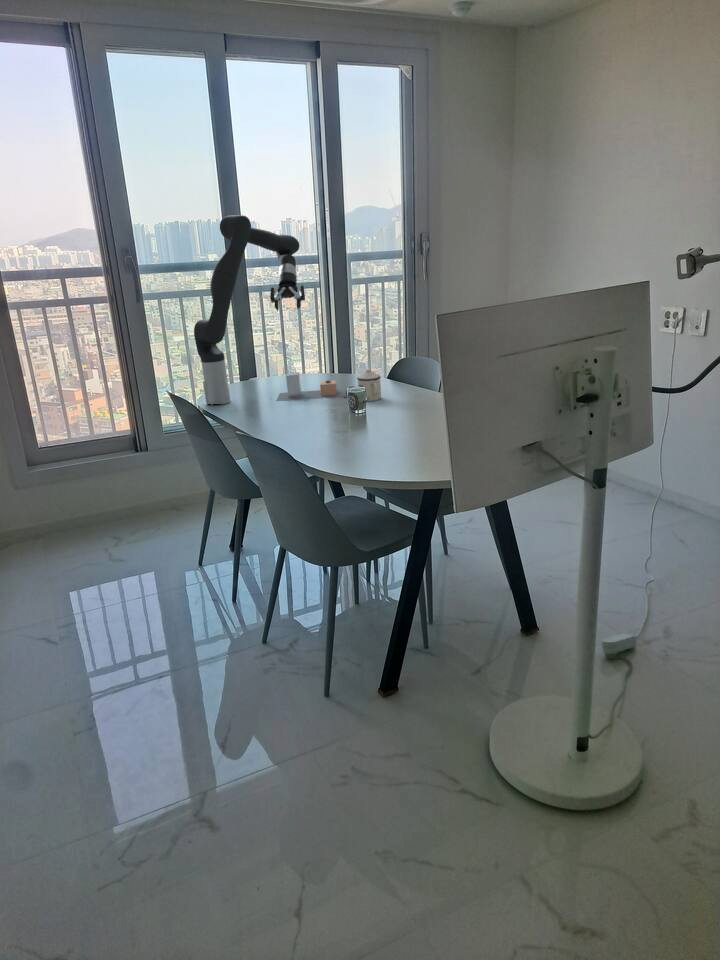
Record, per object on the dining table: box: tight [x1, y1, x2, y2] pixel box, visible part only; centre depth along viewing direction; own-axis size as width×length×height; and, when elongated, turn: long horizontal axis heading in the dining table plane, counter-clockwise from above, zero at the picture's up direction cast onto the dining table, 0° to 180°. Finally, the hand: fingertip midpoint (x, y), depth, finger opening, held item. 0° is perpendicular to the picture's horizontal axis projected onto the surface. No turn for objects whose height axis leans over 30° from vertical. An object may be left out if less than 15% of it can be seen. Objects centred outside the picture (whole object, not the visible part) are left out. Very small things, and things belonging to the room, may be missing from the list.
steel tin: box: [285, 371, 302, 398], centre depth 266 cm, size 5×5×9 cm
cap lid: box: [319, 379, 338, 396], centre depth 267 cm, size 6×6×5 cm
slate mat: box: [276, 388, 347, 402], centre depth 268 cm, size 28×14×1 cm, turn 90°
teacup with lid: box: [356, 368, 382, 402], centre depth 253 cm, size 12×9×12 cm
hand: (287, 308), depth 271 cm, fingers open, 8 cm apart
